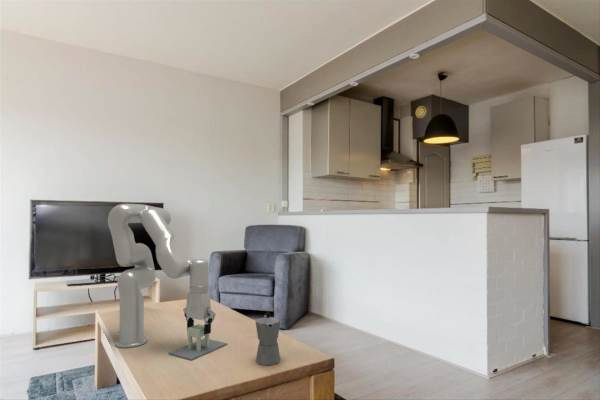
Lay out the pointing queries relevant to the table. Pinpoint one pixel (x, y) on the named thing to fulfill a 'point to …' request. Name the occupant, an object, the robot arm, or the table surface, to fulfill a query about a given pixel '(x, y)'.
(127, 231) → the robot arm
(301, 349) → the table surface
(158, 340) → the table surface
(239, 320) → the table surface
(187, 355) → the mat
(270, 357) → the coffeepot
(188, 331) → the pale green stool
